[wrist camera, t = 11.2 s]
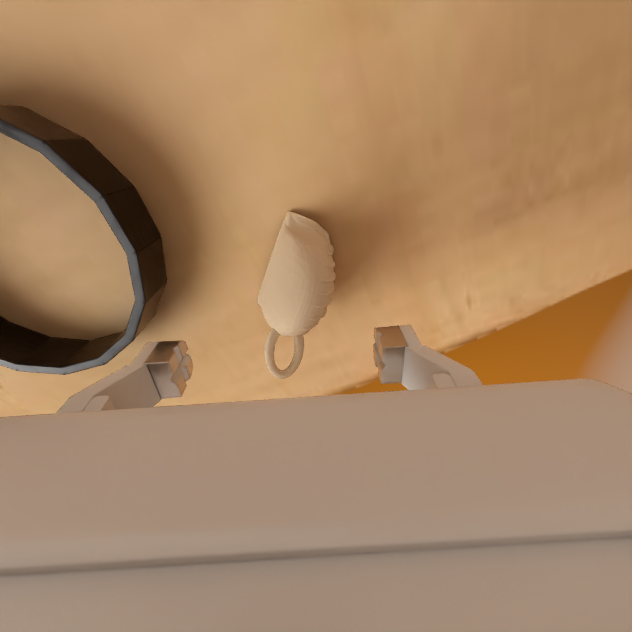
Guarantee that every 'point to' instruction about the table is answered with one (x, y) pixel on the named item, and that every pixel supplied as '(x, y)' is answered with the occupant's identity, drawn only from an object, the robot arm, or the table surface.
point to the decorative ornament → (296, 286)
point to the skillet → (125, 221)
